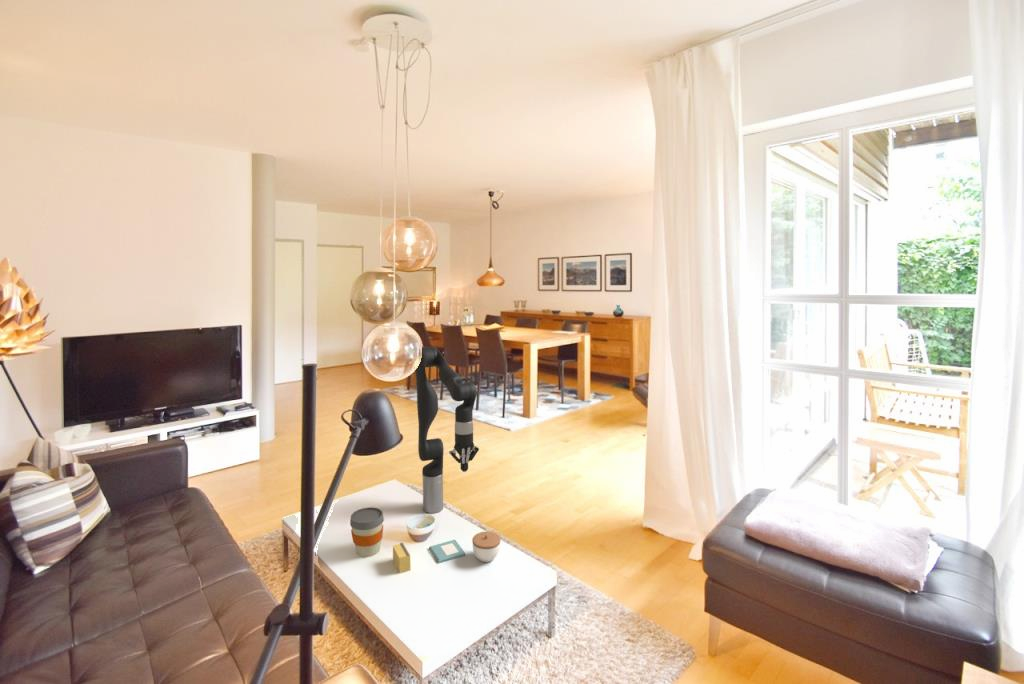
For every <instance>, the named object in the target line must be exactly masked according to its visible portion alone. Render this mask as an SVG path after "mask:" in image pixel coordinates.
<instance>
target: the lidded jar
mask: <svg viewBox="0 0 1024 684" xmlns="http://www.w3.org/2000/svg"><path fill="white" fill-rule="evenodd" d="M471 543H472V550H473V553H474V555H475V557H476V558H478V559H477V560H479V561H480V562H483V563H489V562H492V561H493V560H494V559H495V558H496V557H497V556H498V554H499V552H500V550H501V548H500V547H501V537H500V535H499V534H497V533H496V532H493V531H481V532H478V533H475V534H474V535H473V537H472V541H471Z"/></svg>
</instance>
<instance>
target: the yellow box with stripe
mask: <svg viewBox="0 0 1024 684" xmlns="http://www.w3.org/2000/svg"><path fill="white" fill-rule="evenodd" d="M392 561H393V563H394V565H395V566H396V569H397V570H398V573H399V574H401V573H405V572H408V571H411V569H412V568H411V554H410V552H409V550H408V549H407V547H406V545H405V544H404V542H400V543H398V544H397V543H396V544H394V545H392Z"/></svg>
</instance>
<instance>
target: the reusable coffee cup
mask: <svg viewBox="0 0 1024 684" xmlns="http://www.w3.org/2000/svg"><path fill="white" fill-rule="evenodd" d="M384 521H385V518H384V512H383V510H382V509H380V508H378V507H362V508H360V509H357V510H355V511H354V512H353V513H351V515H350V522H349V525H350V527H351V530H350V531H351V533H350V534H351V538H352V543H353V544H354V547H355V553H356V555H357V556H358V557H361V558H370V557H373V556H375V555H377V554H378V553H379V552H380V551H381V543H382V539H383V534H384V533H383V532H384V524H383V523H384Z"/></svg>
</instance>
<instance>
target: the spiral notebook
mask: <svg viewBox="0 0 1024 684" xmlns="http://www.w3.org/2000/svg"><path fill="white" fill-rule="evenodd" d="M428 549H429V551H430V553H431V554H432V556H433V557H434V558H435V560H436V561H437V563H438V564H441V563H444V561H445V562H448V561H452V560H454V558H455V559H458V558H461V556H462V557H465V556H466V554H467V553H466V552H465V550H464V549H463V548H462V546H460V544H459V542H458V541H457V540H456V539H452V540H449V541H444V542H441V543H438V544H434V545H431V546H429V547H428Z"/></svg>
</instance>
